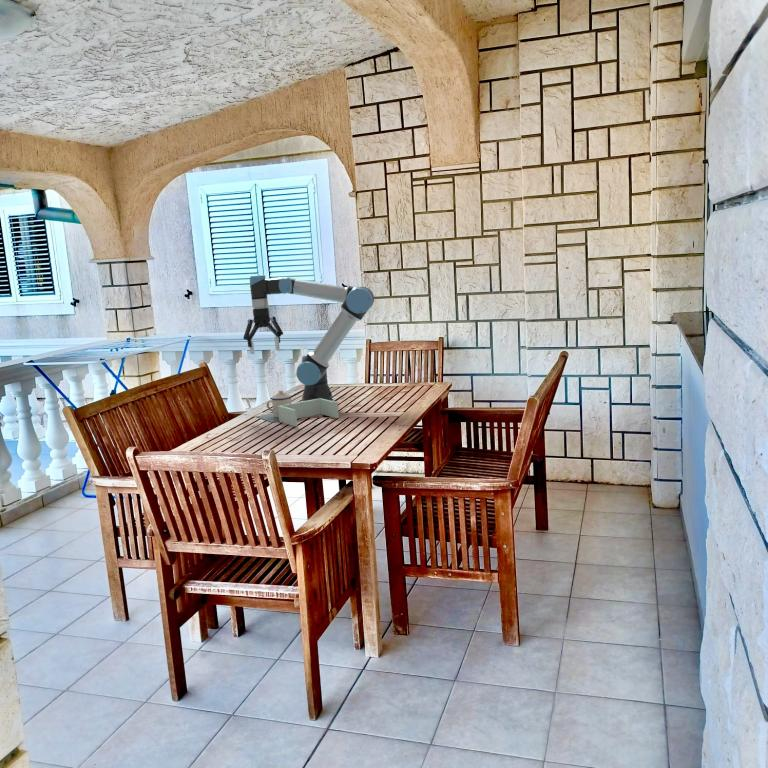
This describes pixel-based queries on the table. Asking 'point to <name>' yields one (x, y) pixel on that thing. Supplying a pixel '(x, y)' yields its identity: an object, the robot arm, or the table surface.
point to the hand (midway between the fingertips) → (265, 352)
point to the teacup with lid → (279, 402)
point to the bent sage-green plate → (307, 410)
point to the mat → (269, 418)
